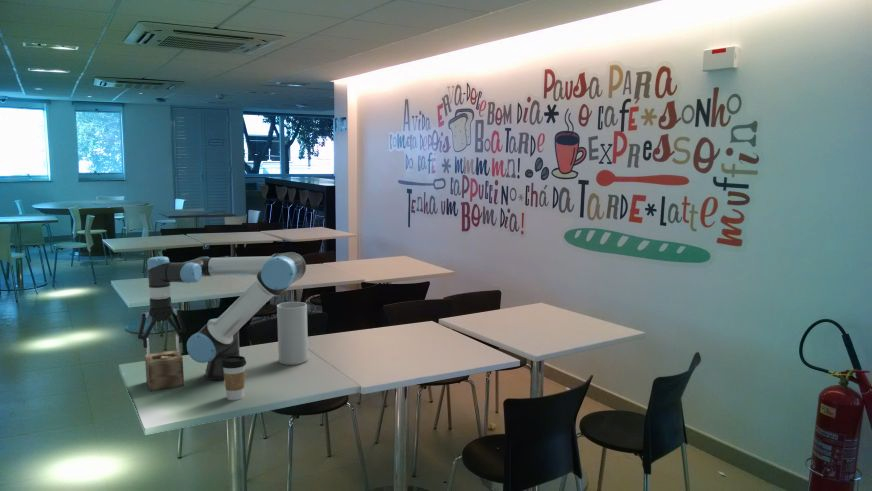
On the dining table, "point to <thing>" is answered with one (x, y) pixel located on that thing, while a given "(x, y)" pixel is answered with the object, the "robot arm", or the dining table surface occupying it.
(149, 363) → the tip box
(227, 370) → the coffee cup
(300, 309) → the cylinder vase
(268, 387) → the dining table surface
